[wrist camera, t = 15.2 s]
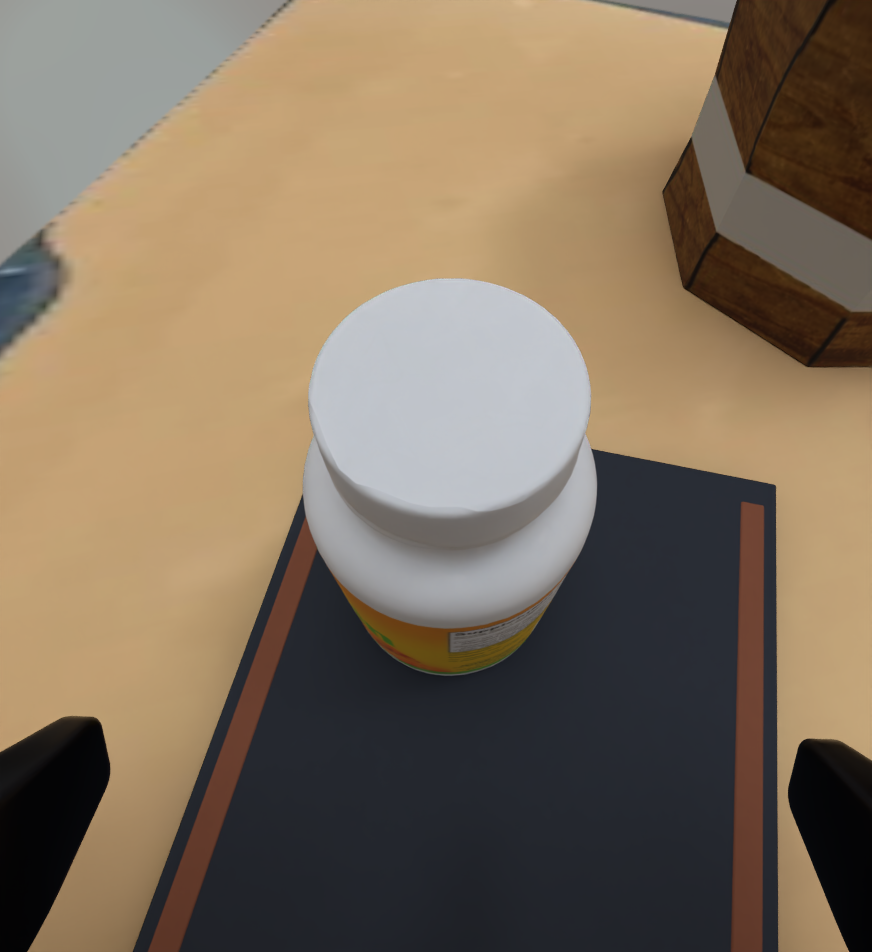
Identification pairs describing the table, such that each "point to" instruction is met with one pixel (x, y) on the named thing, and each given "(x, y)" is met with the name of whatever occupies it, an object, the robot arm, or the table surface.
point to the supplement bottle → (449, 468)
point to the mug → (785, 180)
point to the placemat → (506, 757)
